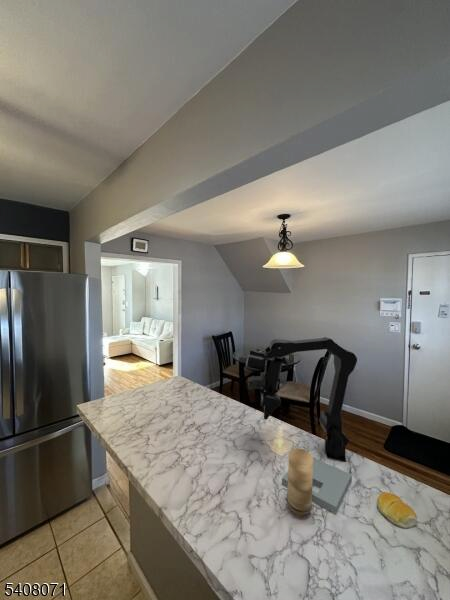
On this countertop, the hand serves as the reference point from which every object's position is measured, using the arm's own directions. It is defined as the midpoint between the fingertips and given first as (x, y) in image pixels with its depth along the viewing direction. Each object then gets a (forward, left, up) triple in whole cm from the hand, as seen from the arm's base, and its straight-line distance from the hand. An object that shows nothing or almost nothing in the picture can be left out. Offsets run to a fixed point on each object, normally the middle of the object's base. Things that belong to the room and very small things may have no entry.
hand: (263, 413), depth 94 cm
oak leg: (-14, +23, -15) cm, 30 cm away
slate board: (-19, +10, -15) cm, 26 cm away
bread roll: (-39, +15, -15) cm, 44 cm away
